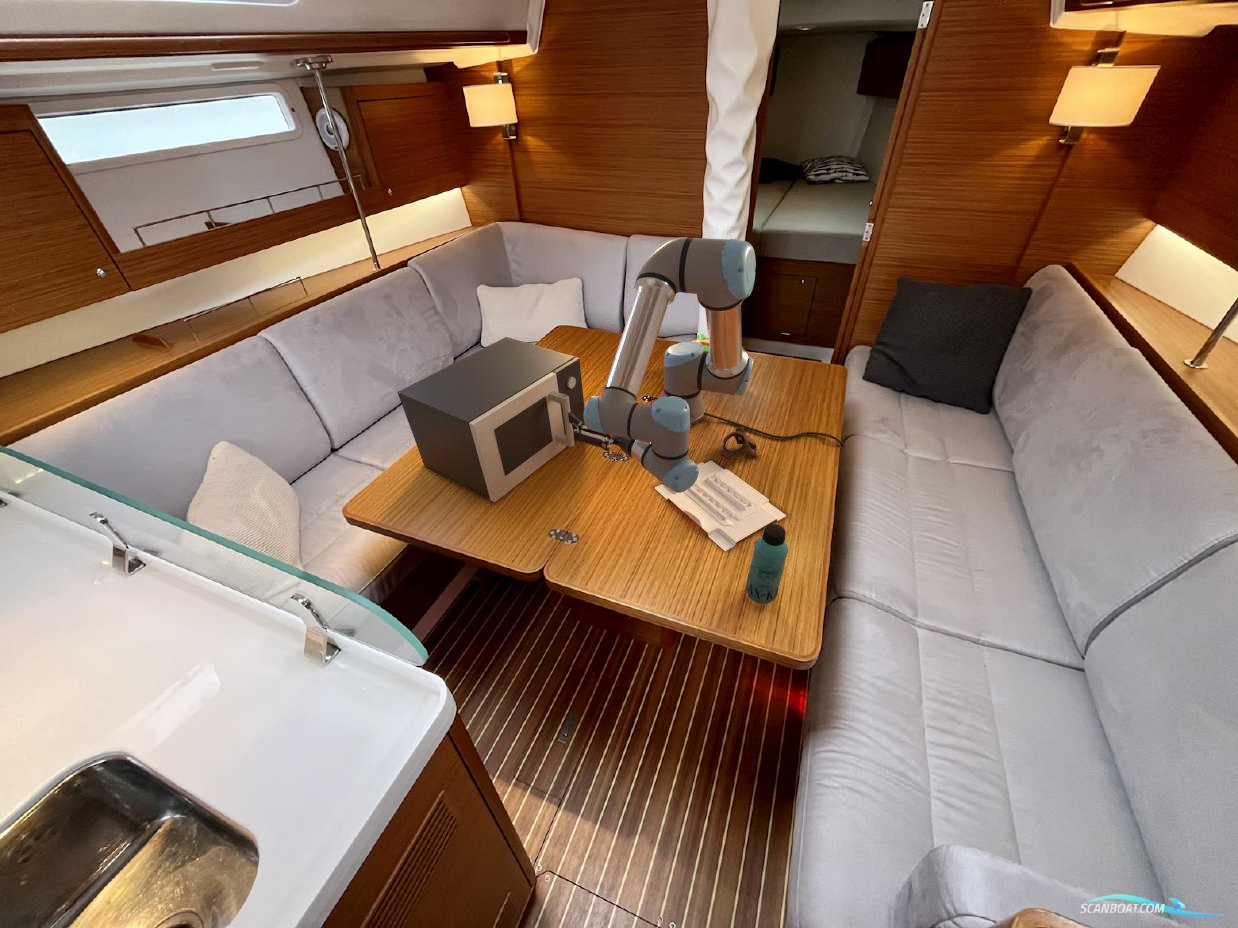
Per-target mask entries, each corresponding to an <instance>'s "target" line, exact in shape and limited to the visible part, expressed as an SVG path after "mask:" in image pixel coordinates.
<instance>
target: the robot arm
mask: <svg viewBox="0 0 1238 928" xmlns="http://www.w3.org/2000/svg"><path fill="white" fill-rule="evenodd" d="M756 264H757V263H756V254H755V249H754V246H753V245H752V244H751V243H750V242H748V241H746V240H738V239H735V238H729V239H728V238H727V239H726V238H708V237H707V238H703V237H688V236H682V237H676V238H673V239H670V240H669V241H667V242H665V243H664V244H662V245H661V246H659V247H658V248H657V249H656V250H655V251H654V252H653V253H652V254H650V256H649V257H648V258H647V260H646V261H645V262H644V263H643V265H642V266H641V269H640V270H639V272H638V274H637V277H636V279H635V282H634V284H633V291H634V293H635V296H634V299H633V302H632V305H631V308H630V310H629V313H628V317H627V319H626V323H625V326H624V328H623V332H622V334H621V337H620V341H619V342H618V343H619V344H618V346H617V349H616V352H615V355H614V358H613V361H612V364H611V367H610V371H609V373H608V376H607V378H606V381H605V384H604V388H603V391H602V394H601V395H592V396H590V397H589V398H588V400H587V401H586V403H585V404H584V407H585V409H584V423H585V425H586V426H584V423H583V422H582V421H581V420H580V419H579V418H577V417H576V416H575V415H574V414H572V413H571V412H569V413H568V418H569V423H571V424H572V428H573V429H574V430H573V431H574V441H577V442H580V443H583V444H587V445H590V446H593V447H597V448H601V449H602V450H603V451H606V452H609V451H610V447H612V446H618V447H619V448H620V449H621V451H622V452H623V453H624V454H625V455H627V456H628V457H629V458H630V459H632V460H633V461H634V462H636V463H637V464H638V465H639V466H641V467H642V468H643V469H644V470H646V472H647V471H648V473H649V474H651V475H652V476H653V477H654V478H655V479H656V480H658V481H659V482H660V483H661V484H663V485H664V486H667V487H668V488H670V489H671V490H672V491H674V492H677V493H681V492H684V491H686V490H688V489H689V488H691V487H692V486H693V484H694V483H695V482H696V480H697V478H698V475H699V468H698V466H697V463H696V462H694V460H693V459H691V458H690V456H689V454H690V448H689V444H690V442H689V441H690V428H691V426H692V425H695V424H697V423H699V422H701V421H702V420H703V419H704V418H705V416H707V417H710V418H714V419H715V420H716V419H717V420H720V421H722V422H726V423H729V424H732V425H735V426H737V427H740V426H741V427H743V428H744V429H746V430H748V431H752V432H755V433H758V434H761V435H763V436H766V437H770V438H773V439H782V440H784V439H785V440H787V439H788V440H789V439H794V438H798V437H802V436H805V435H806V436H807V435H814V436H822V437H827V438H831V439H833V440H834V441H836V442H837V443H838V444H839V445H840V446H841V447H843V448H845V447H846V445H845V443H844V442H842V440H840V439H839V438H838V437H836V436H835V435H832V434H828V433H824V432H817V431H804V432H800V433H796V434H792V435H785V436H784V435H776V434H771V433H768V432H765V431H763V430H760V429H756V428H754V427H750V426H746V425H744V424H741V423H739V422H735V421H733V420H730V419H727V418H724V417H721V416H717V415H714V414H711V413H707V412H706V406H705V403H704V400H703V395H702V393H701V392H702V391H705V392H712V393H717V394H723V395H729V396H732V397H733V396H739V397H743V396H744V395H745V394H746V392H747V390H748V385H749V382H750V378H751V374H752V371H753V367H754V363H755V359H754V357H752V356H750V355H748V353H747V351H746V349H745V348H744V347H743V344H742V343H743V342H742V341H743V339H742V336H743V335H742V303H743V302H744V301H745V299H747V298H749V297H750V295H751V294H752V292H753V289H754V285H755V279H756V267H757V265H756ZM678 293H683V294H692V295H696V298H697V301H698V303H699V305H700V306H701V307H702V308H703V309H704V312H705V320H706V329H707V336H708V337H707V338H709V346H710V351H709V352H708V351H704V348H703V346H702V345H701V344H699V343H697V342H692V341H682V342H677V343H674V344H672V345H671V346H669V347H667V349H666V350H665V352H664V355H663V357H664V358H663V364H662V365H663V392H662V395H661V396H660V397H659V398H656V399H655V400H654V401H653V402H652V404H647V403H643V402H638V398H639V396H640V392H641V389H642V386H643V383H644V379H645V377H646V374H647V370H648V369H649V368H648V367H649V366H650V365H649V364H650V361H651V359H652V355H653V351H654V348H655V346H656V343H657V340H658V336H659V335H660V334H659V333H660V331H661V328H662V324H663V322H664V318H665V315H666V312H667V309H668V306H669V305H672V304H673V303H674V301H675V298H676V296H677V294H678Z"/></svg>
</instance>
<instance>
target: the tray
mask: <svg viewBox="0 0 1238 928" xmlns="http://www.w3.org/2000/svg"><path fill="white" fill-rule="evenodd" d="M696 465H697V466H698V468H699V475H698V478H697V480H696V482H695V483H694V484H693V486H692V487H691V488H689V489H688V490H686V491H684V492H681V493H677V492H674V491H672V490H671V489H670V488H668V487H667V486H664V485H663V484H662V483H661V484H659V485H656V486H654V489H655V490H656V492H658V493H659V494H660V495H661V496H662V497H663V498H664V499H666V500H670V501H671V502H672V503H673V504H675V506H677V507H678V508H679V509H680V510H681V511H682V512H683V513H684V514H686V515H687V516H688V517H689V518H690V519H691V520H692V521H693V522H695V523H696V524H697V525H698V526H699V527H700V528H701V529H702V530H704V531H705V532H706V533H707V537H708V538H709V539H710V540H711V541H713V542H714V543H715V544H716V545H717V546H718V547H720V549H721V550H723V551H724V552H727V551H728V550H730V549H732V548H734V547H735V546H736V544H737V542H739V541H741V540H743V539H745V538H746V537H748V536H750V535H751V534H753V533H755V532H757V531H759V530H761V529H762V528H765V527H766V526H767V525H769V524H772V523H773V522H774V521H777V522H778V521H781V520H782V519H783V518H786V517H787V515H786V514H785V513H784V512H782V511H781V510H780V509H778V508H777V507H776V506H774V505H773V504H771V503H770V499H769V498H768V497H767V496H765V495H764V494H762V493H761V492H760V491H758V490H757V489H755V488H754V487H753V486H752V485H750V484H748V483H747V482H745V481H744V480H743V479H741V478H740V477H739V476H737V475H736V474H735V473H733V472H732V471H731V470H729V469H728V468H725V469H724V468H723V467H721V465H718V464H717V463H716V462H714V461H713V460H709V461H707V462H705V463H704V462H703V461H702V462H700V463H696Z"/></svg>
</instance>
